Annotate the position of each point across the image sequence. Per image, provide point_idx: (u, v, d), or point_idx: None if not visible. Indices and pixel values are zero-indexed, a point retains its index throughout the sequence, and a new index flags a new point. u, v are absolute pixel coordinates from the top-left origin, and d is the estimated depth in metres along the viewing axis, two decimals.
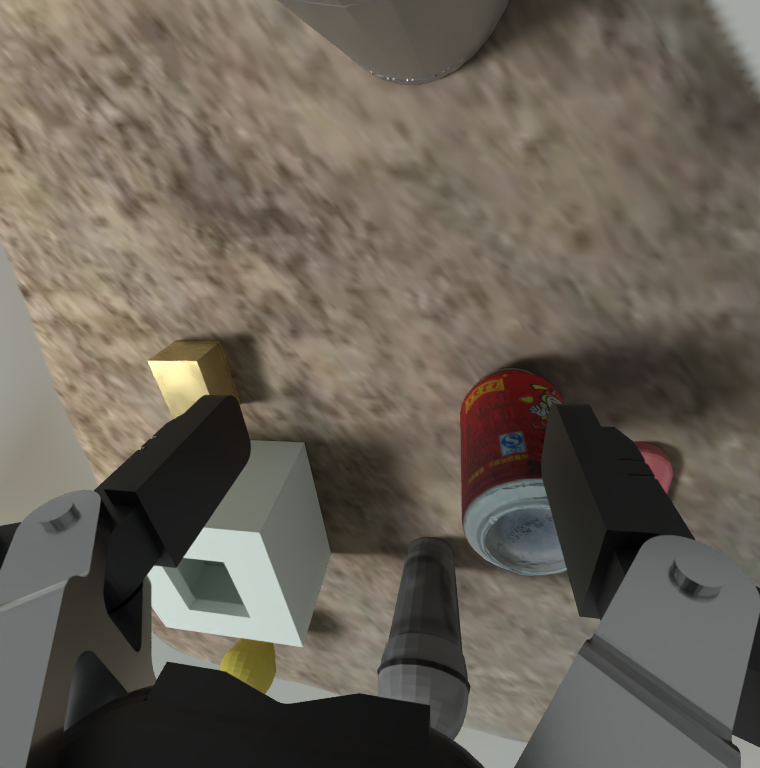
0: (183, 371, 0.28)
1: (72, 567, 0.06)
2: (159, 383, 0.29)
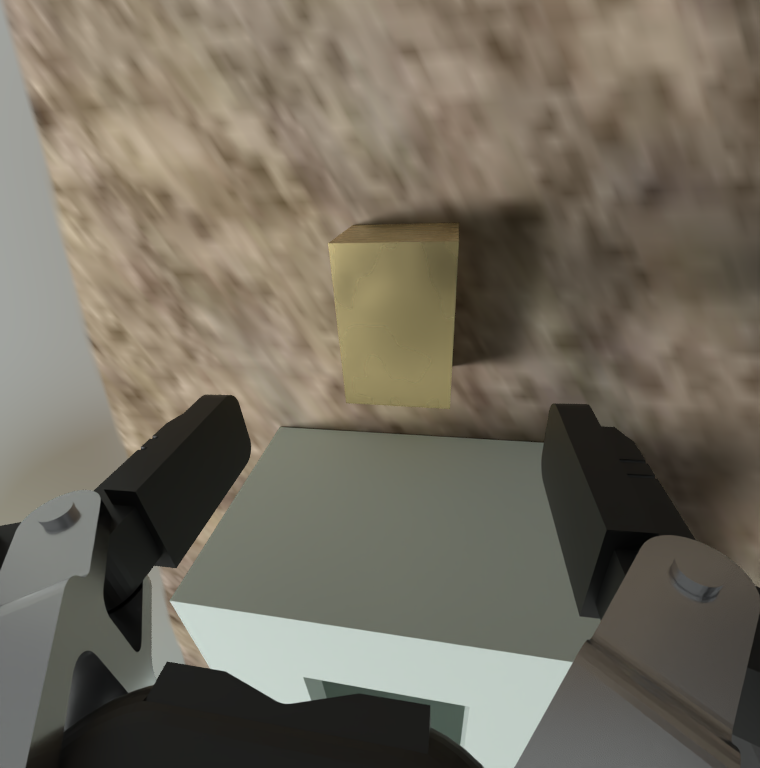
0: (411, 272, 0.12)
1: (72, 567, 0.06)
2: (339, 303, 0.13)
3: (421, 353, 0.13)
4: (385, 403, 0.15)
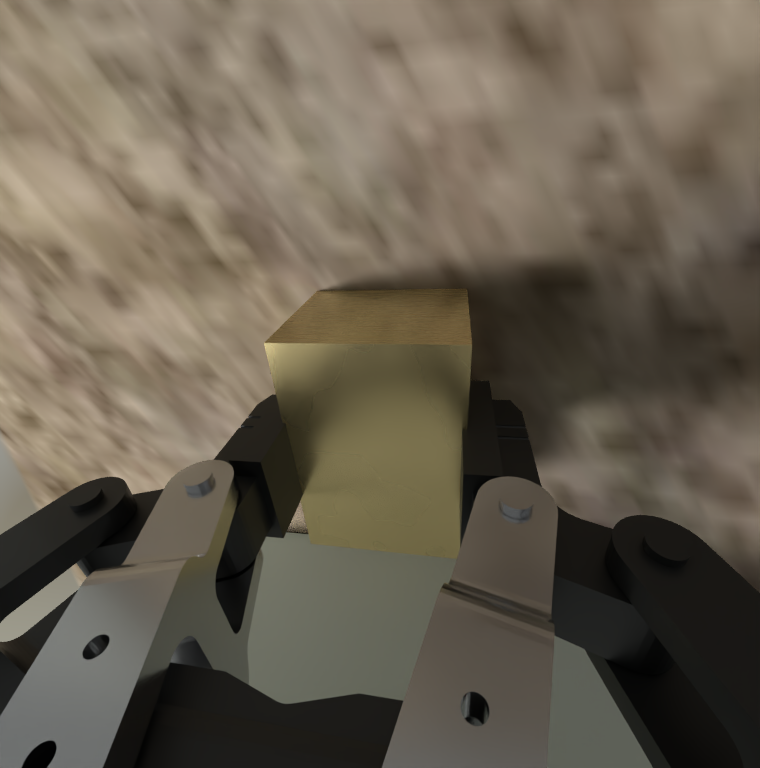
0: (397, 386, 0.08)
1: (196, 540, 0.06)
2: (289, 423, 0.09)
3: (416, 490, 0.09)
4: (366, 547, 0.10)
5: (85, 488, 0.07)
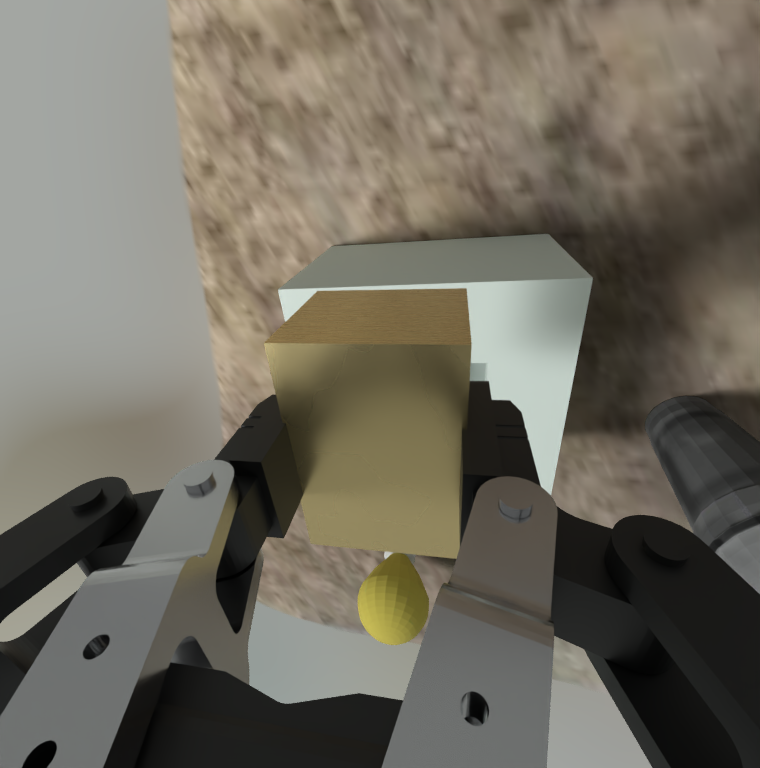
0: (396, 386, 0.08)
1: (197, 540, 0.06)
2: (289, 423, 0.09)
3: (415, 490, 0.09)
4: (366, 547, 0.10)
5: (86, 488, 0.07)
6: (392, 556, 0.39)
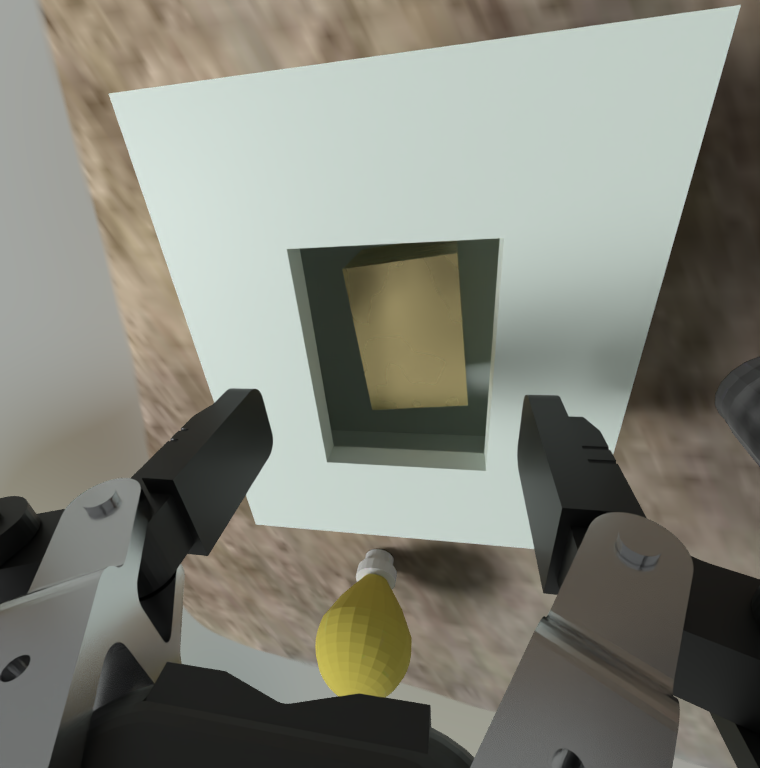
0: (418, 285, 0.14)
1: (110, 555, 0.06)
2: (357, 320, 0.15)
3: (435, 356, 0.15)
4: (408, 406, 0.16)
5: None
6: (366, 579, 0.30)
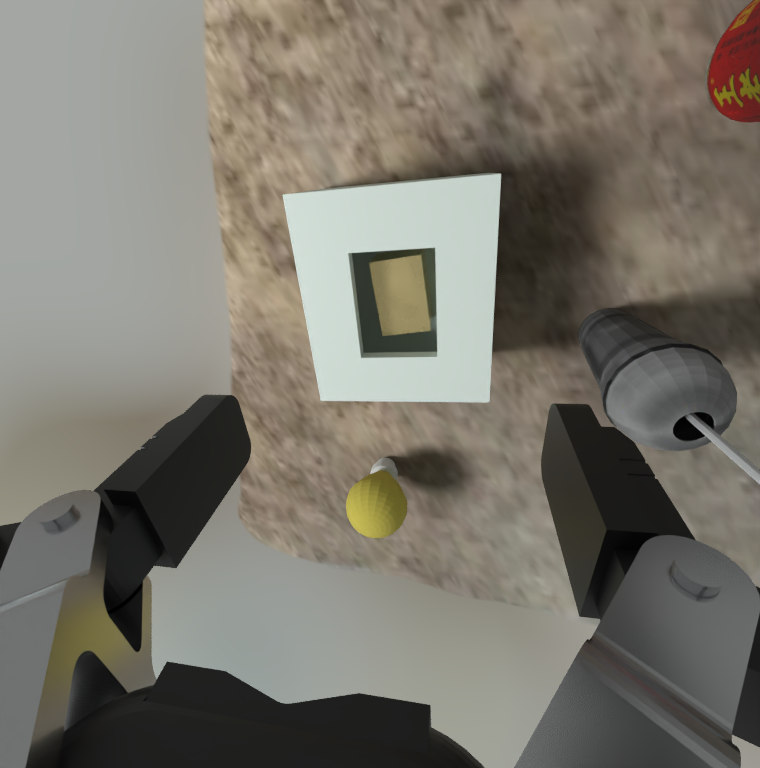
0: (404, 269, 0.29)
1: (72, 567, 0.06)
2: (375, 287, 0.30)
3: (413, 304, 0.30)
4: (401, 333, 0.32)
5: None
6: (377, 471, 0.45)
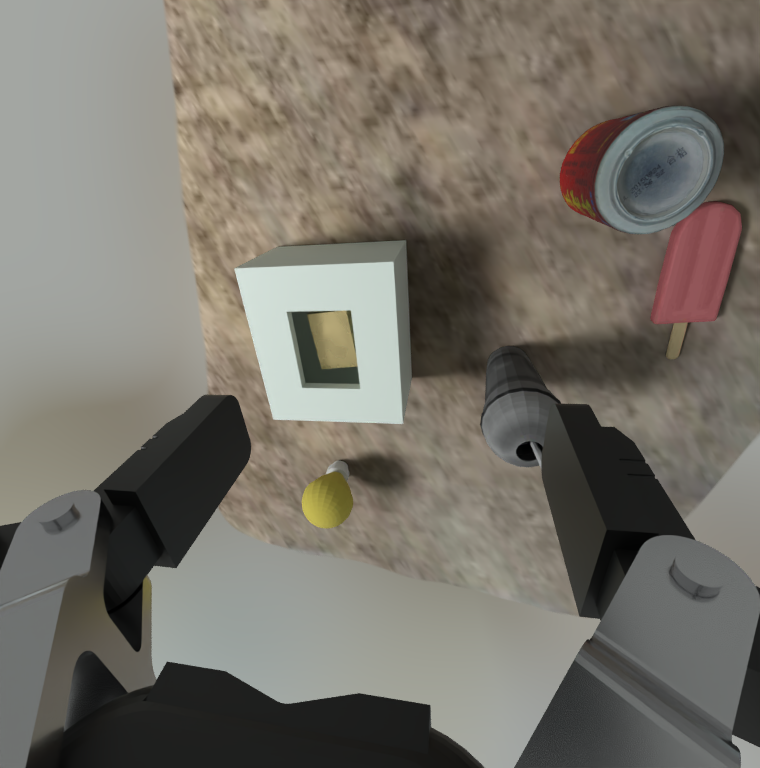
0: (334, 320, 0.37)
1: (72, 567, 0.06)
2: (313, 333, 0.38)
3: (343, 346, 0.39)
4: (335, 367, 0.40)
5: None
6: (330, 473, 0.53)
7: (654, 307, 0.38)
